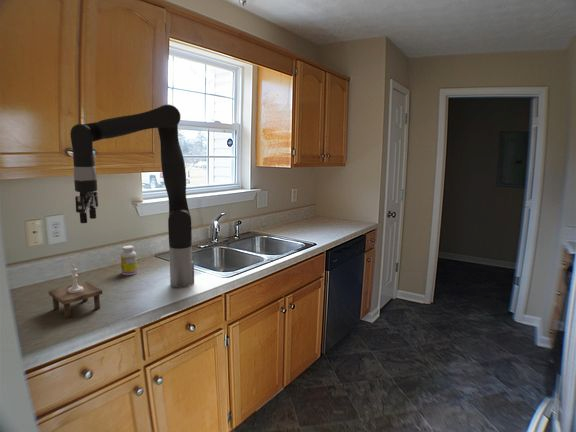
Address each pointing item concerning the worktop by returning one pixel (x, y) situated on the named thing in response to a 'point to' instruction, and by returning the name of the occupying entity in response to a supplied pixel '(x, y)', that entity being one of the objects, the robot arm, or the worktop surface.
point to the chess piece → (75, 282)
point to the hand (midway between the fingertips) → (88, 220)
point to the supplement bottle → (128, 261)
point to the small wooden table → (74, 297)
